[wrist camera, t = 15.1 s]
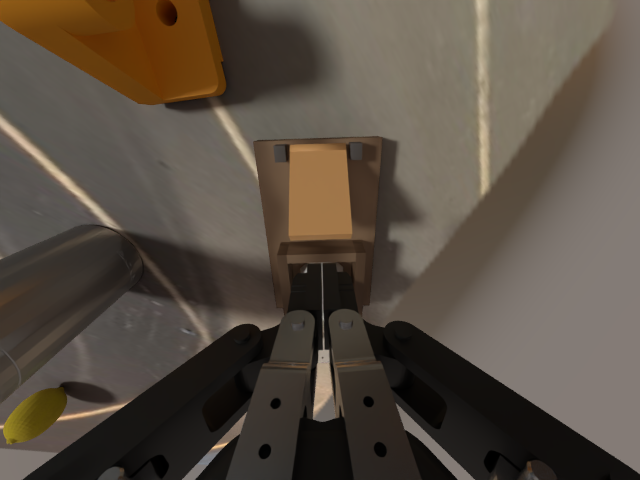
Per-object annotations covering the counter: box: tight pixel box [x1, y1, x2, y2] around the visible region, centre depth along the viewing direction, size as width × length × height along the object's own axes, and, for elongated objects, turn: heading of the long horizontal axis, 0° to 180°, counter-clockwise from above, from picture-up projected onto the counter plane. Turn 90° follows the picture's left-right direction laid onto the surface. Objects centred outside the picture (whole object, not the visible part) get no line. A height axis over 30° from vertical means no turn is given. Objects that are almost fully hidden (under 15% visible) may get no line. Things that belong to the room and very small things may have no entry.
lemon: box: [3, 387, 67, 444], centre depth 38 cm, size 6×6×8 cm
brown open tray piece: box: [253, 136, 382, 317], centre depth 26 cm, size 12×20×5 cm, turn 2°
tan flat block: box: [289, 143, 352, 241], centre depth 21 cm, size 5×9×1 cm
